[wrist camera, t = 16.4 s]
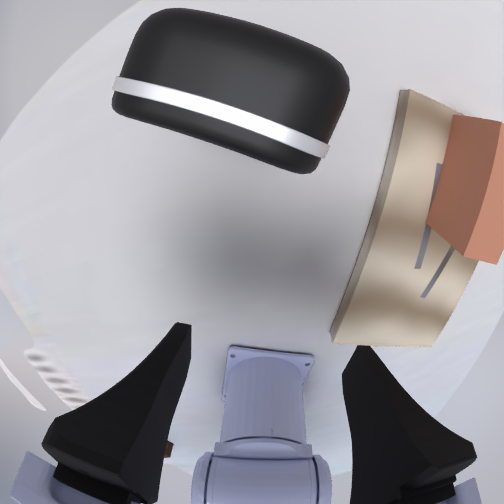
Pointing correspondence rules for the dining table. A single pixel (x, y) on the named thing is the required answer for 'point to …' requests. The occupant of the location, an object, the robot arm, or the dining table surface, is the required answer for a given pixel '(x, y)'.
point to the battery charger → (233, 86)
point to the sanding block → (472, 189)
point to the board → (405, 242)
